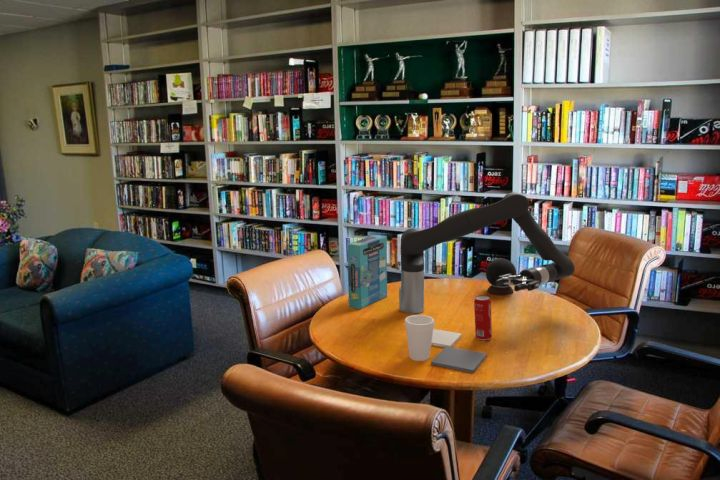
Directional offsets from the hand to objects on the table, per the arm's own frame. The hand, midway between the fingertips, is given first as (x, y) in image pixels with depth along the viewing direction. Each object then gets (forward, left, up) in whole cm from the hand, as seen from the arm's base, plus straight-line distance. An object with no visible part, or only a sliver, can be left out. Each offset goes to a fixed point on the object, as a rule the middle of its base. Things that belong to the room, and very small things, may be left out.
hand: (505, 285), depth 211 cm
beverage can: (-5, -10, -17) cm, 21 cm away
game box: (-60, +8, -17) cm, 63 cm away
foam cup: (-18, -35, -17) cm, 43 cm away
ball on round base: (-14, +46, -17) cm, 51 cm away
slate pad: (-6, -32, -17) cm, 37 cm away
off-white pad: (-18, -18, -17) cm, 31 cm away
